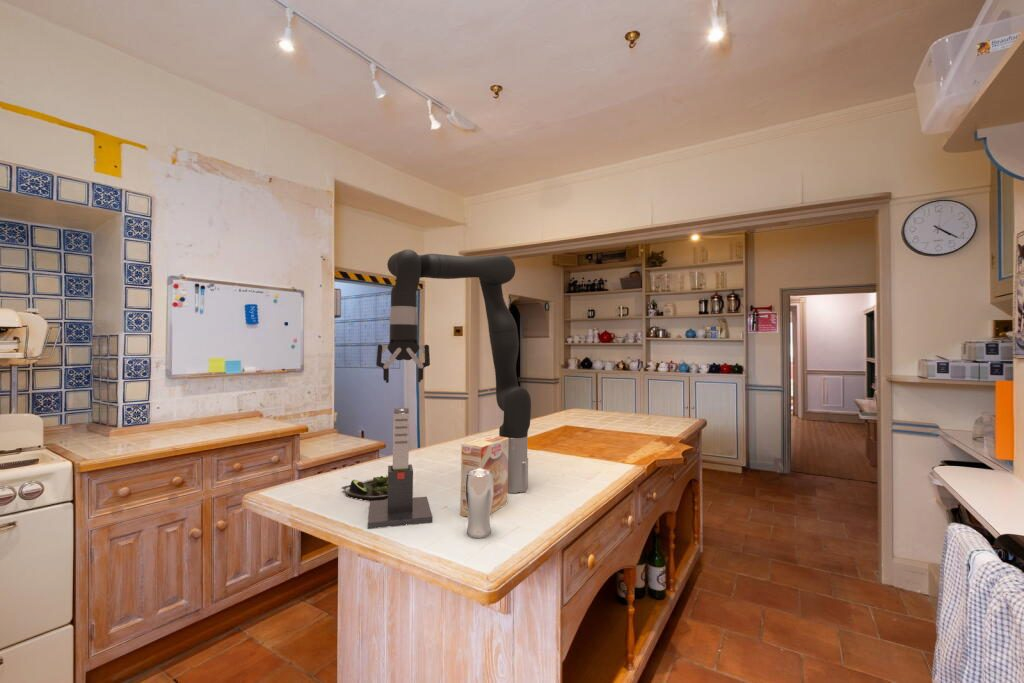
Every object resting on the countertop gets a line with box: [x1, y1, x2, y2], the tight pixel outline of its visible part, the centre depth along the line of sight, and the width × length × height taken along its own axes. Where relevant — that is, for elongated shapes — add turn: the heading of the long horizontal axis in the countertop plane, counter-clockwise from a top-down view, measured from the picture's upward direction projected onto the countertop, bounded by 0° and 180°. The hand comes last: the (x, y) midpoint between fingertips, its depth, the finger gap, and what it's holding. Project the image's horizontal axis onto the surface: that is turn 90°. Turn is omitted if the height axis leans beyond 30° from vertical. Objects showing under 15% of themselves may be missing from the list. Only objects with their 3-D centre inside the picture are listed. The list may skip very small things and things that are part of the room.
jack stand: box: [367, 463, 433, 529], centre depth 121 cm, size 16×16×12 cm
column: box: [392, 407, 410, 471], centre depth 121 cm, size 4×4×21 cm
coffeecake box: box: [459, 434, 509, 518], centre depth 126 cm, size 15×7×20 cm, turn 151°
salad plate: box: [340, 474, 388, 502], centre depth 141 cm, size 19×18×5 cm
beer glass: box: [465, 469, 494, 539], centre depth 110 cm, size 7×7×15 cm
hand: (403, 382), depth 123 cm, fingers open, 8 cm apart
